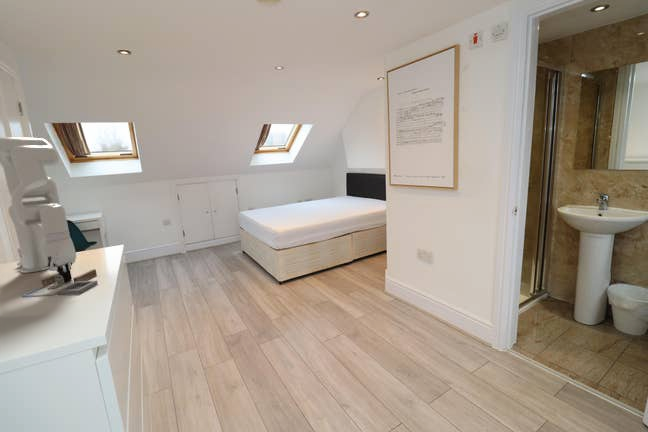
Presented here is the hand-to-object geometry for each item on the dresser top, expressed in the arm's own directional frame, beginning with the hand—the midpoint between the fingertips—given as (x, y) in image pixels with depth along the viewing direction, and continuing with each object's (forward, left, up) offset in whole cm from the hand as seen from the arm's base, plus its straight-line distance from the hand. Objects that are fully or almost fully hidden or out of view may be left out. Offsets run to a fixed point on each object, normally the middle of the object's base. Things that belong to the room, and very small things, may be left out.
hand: (66, 280), depth 121 cm
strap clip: (0, -3, -1) cm, 3 cm away
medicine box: (-42, +30, -1) cm, 51 cm away
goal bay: (0, -8, -1) cm, 8 cm away
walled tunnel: (0, +2, -1) cm, 2 cm away
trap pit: (+11, -8, -1) cm, 14 cm away
